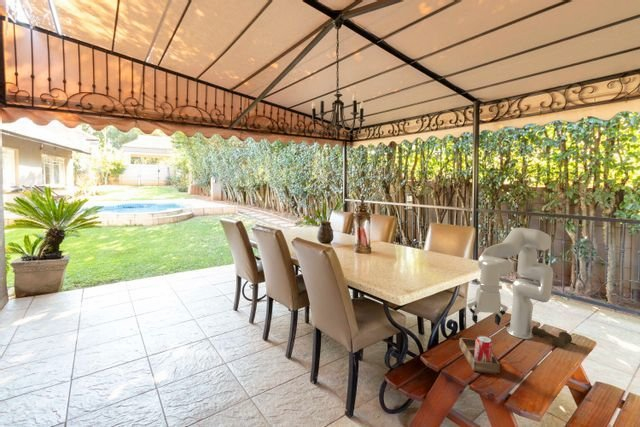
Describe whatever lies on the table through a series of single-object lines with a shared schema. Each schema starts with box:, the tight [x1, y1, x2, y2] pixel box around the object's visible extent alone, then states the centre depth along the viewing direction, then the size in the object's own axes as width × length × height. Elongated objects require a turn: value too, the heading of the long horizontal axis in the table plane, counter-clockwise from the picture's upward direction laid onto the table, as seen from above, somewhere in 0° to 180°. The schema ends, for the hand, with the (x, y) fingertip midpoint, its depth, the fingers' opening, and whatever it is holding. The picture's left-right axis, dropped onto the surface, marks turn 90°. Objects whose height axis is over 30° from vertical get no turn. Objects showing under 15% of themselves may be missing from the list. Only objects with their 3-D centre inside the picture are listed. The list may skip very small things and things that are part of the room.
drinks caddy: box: [458, 337, 501, 374], centre depth 149 cm, size 21×11×4 cm, turn 173°
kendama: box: [531, 325, 578, 349], centre depth 166 cm, size 6×10×20 cm
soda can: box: [474, 335, 493, 363], centre depth 143 cm, size 7×7×12 cm
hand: (485, 323), depth 142 cm, fingers open, 9 cm apart
